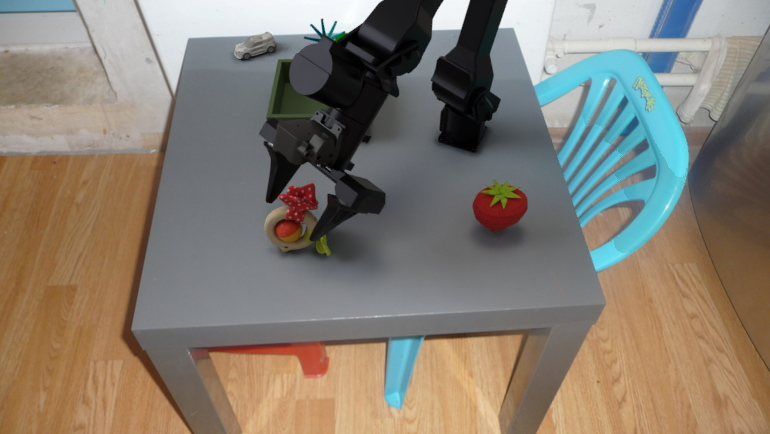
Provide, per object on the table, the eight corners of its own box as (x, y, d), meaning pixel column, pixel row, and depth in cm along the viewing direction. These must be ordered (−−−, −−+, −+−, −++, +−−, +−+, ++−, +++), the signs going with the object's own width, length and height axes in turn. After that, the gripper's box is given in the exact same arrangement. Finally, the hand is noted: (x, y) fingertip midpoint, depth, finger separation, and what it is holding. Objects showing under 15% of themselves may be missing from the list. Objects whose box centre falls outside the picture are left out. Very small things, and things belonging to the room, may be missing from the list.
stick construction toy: (302, 59, 106) (307, 14, 105) (297, 60, 113) (302, 18, 111) (366, 70, 110) (372, 27, 108) (358, 70, 116) (363, 29, 115)
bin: (368, 82, 105) (367, 58, 102) (366, 141, 95) (366, 117, 91) (281, 82, 105) (277, 59, 102) (270, 141, 95) (266, 117, 91)
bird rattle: (289, 277, 80) (348, 253, 78) (243, 233, 72) (307, 205, 70) (287, 241, 84) (343, 218, 82) (243, 196, 76) (304, 169, 74)
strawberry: (527, 243, 81) (541, 194, 74) (474, 250, 81) (483, 201, 73) (513, 211, 85) (526, 161, 78) (463, 218, 84) (470, 168, 77)
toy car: (232, 52, 111) (229, 38, 109) (271, 41, 114) (269, 27, 112) (238, 62, 109) (235, 48, 107) (278, 50, 112) (276, 37, 110)
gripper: (259, 62, 69) (200, 174, 73) (366, 138, 61) (294, 262, 64) (316, 88, 79) (262, 186, 82) (416, 157, 70) (351, 264, 74)
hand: (289, 221), depth 75 cm, fingers open, 9 cm apart
